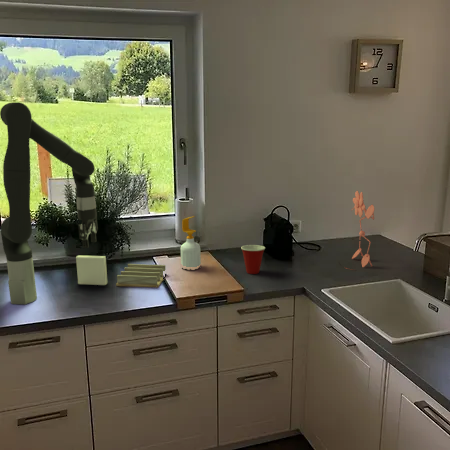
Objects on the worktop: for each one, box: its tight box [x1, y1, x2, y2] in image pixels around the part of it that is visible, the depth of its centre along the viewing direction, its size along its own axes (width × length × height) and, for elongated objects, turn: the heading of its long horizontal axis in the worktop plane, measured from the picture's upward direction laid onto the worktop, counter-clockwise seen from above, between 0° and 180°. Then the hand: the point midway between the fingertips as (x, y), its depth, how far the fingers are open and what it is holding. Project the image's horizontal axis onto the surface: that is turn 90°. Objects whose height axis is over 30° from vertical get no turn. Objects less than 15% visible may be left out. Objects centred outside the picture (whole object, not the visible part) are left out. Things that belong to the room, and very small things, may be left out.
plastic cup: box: [240, 244, 266, 275], centre depth 219 cm, size 11×11×12 cm
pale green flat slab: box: [75, 254, 108, 286], centre depth 206 cm, size 2×12×12 cm, turn 83°
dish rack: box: [115, 263, 166, 289], centre depth 211 cm, size 16×18×4 cm
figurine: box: [345, 190, 375, 271], centre depth 226 cm, size 15×26×35 cm, turn 5°
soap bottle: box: [180, 215, 202, 267], centre depth 223 cm, size 9×9×25 cm
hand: (89, 244), depth 204 cm, fingers open, 8 cm apart
